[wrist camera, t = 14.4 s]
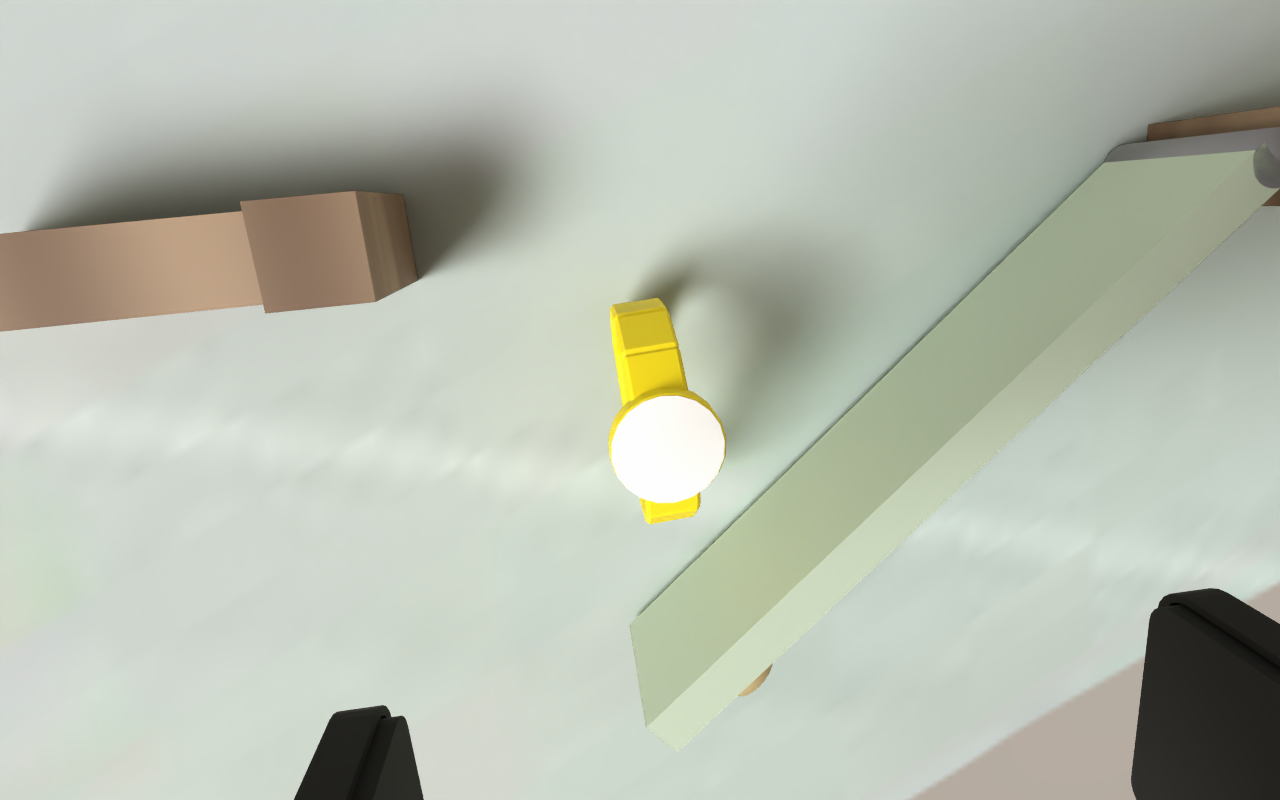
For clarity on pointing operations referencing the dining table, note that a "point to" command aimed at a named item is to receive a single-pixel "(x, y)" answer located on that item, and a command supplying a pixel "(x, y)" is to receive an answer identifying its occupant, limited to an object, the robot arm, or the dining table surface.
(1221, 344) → the dining table surface
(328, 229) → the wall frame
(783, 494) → the pale green flat bar
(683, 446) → the watch
